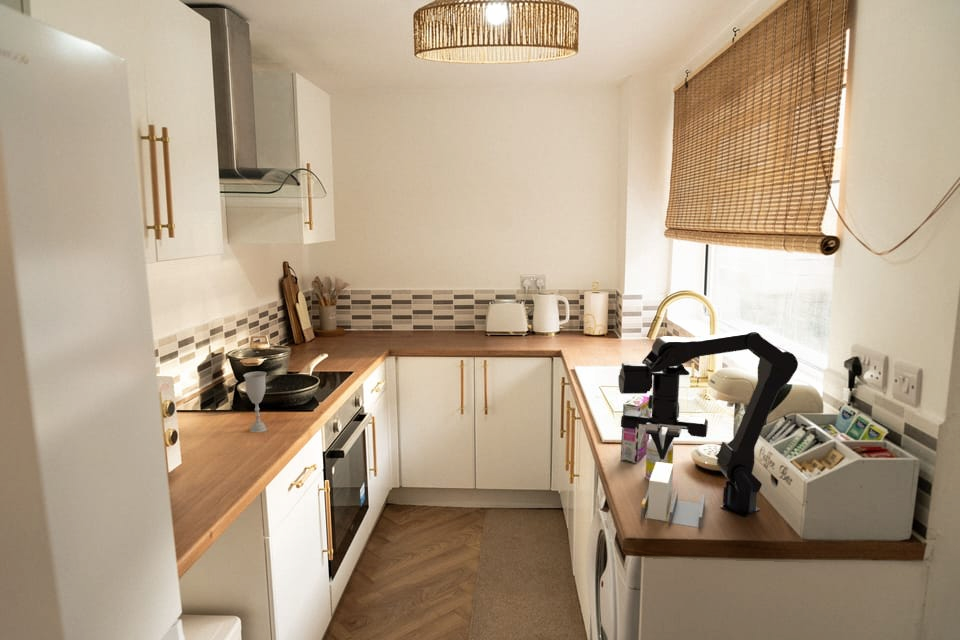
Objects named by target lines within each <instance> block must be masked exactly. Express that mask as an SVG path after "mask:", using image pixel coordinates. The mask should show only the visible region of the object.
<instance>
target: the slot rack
mask: <svg viewBox="0 0 960 640" xmlns="http://www.w3.org/2000/svg"><path fill="white" fill-rule="evenodd" d="M678 497H679V490H678V489H677V490H675V491H674V494H673V499H672V500H671V503H670V507H669V511H668V515H667V519H666V521H662V520H656V519H650V518H648V500H649V487H648V488H647V490H646V494H645V496H644V498H642V501H641V503H640V504H641V505H640V506H641V507H640V519H644V520H648V521H649V520H650V521H656V522H662V523H669V524H674V525H681V526H686V527H692V528H698V529H701V528H702V524H703V519H704V518H703V517H704V512H705V505H706V494H704V493H702V495H701V502H700V503H698V502H697V503H696V502H691V501H684V500H679V499H678Z"/></svg>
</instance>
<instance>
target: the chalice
mask: <svg viewBox="0 0 960 640" xmlns="http://www.w3.org/2000/svg"><path fill="white" fill-rule="evenodd" d="M267 373H268V372H266V371H259V370H258V371H250V372H246V373H244V374H243V375H242V376H243V377H244V381H245V382H244V383H245V392H246V394H247V396H248V398H249V400H250V401H251V403H252V404H254V405H255V408H254V411H255V414H254V417H255V421H254V422H253V423H252V424H251V427H250V429H249V432H250V433H253V434H254V433H257V434H258V433H264V432H265V431H267V427H266V425H265V423H264V422H263V421H261V420H260V416H261V414H260V409H261V408H260V407H259V404H261V403H262V401H263V399H264V396H265V393H266V386H267V385H266V376H267Z"/></svg>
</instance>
